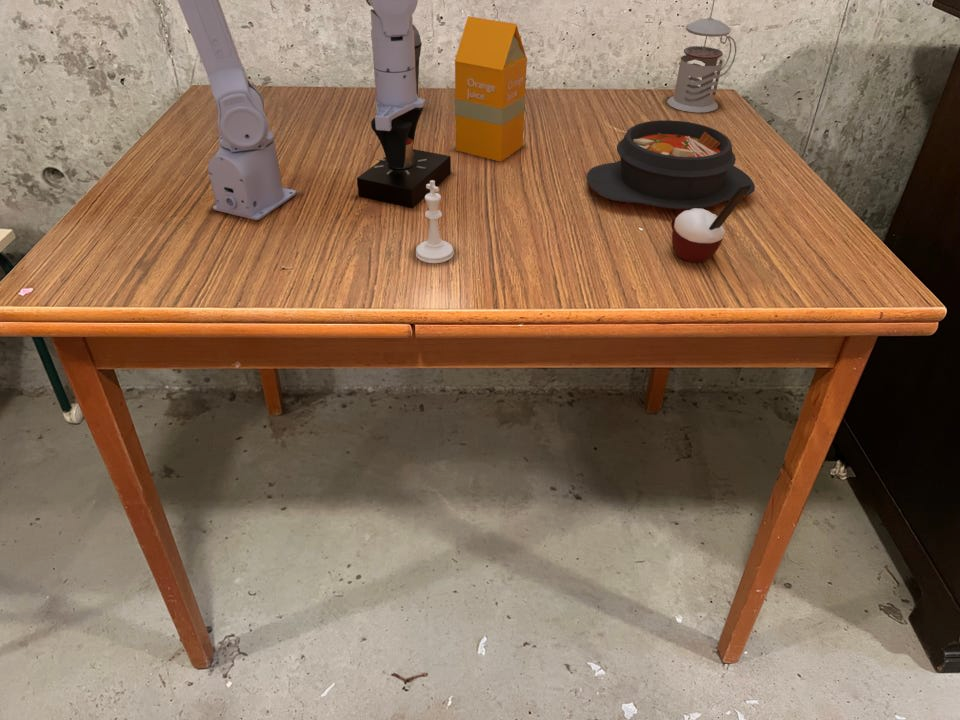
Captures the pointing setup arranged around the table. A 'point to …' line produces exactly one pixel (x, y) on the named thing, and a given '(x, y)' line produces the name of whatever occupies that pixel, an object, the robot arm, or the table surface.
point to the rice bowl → (702, 230)
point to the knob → (408, 154)
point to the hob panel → (404, 179)
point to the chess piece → (434, 232)
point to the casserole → (671, 167)
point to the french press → (700, 69)
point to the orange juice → (490, 89)
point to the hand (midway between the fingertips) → (400, 161)
